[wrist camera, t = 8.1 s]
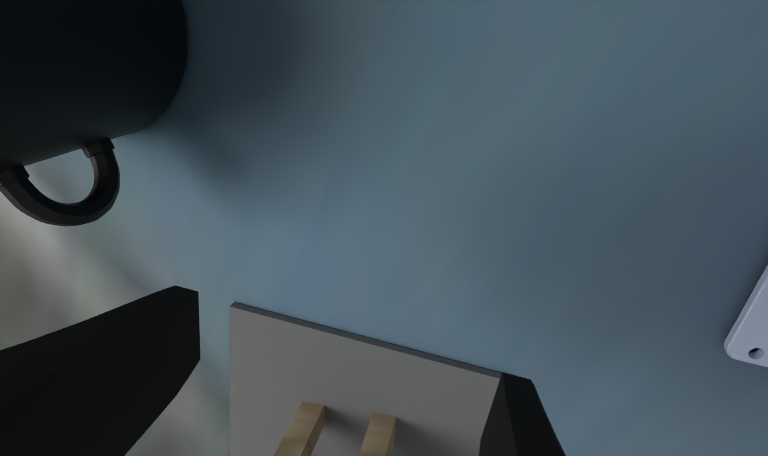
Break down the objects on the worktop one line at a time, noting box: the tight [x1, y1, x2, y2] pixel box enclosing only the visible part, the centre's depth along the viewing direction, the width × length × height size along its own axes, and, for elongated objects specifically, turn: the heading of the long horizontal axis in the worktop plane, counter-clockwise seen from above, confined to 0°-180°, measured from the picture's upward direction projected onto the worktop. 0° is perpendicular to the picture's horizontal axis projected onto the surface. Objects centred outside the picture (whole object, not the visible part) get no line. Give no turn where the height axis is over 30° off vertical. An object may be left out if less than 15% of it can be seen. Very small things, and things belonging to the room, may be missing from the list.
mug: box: [0, 0, 187, 226], centre depth 16 cm, size 9×12×9 cm
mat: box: [230, 302, 502, 456], centre depth 26 cm, size 14×14×1 cm
